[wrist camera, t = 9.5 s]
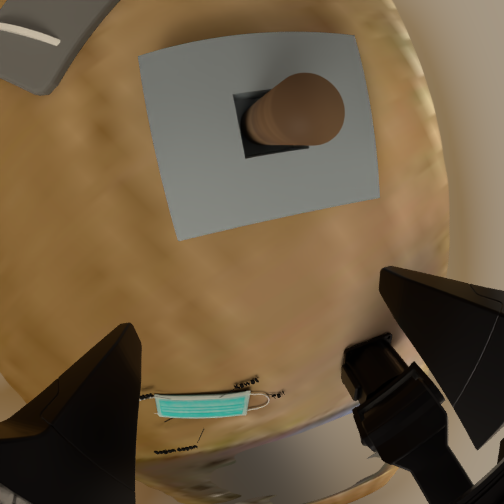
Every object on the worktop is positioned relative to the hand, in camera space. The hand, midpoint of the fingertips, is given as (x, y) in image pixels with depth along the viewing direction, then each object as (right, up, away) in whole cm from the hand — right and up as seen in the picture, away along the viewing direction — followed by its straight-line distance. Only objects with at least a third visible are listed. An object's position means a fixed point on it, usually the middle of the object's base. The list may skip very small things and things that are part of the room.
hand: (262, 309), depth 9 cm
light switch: (-18, +25, +1) cm, 31 cm away
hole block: (0, +11, +9) cm, 14 cm away
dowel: (0, +11, +8) cm, 14 cm away
